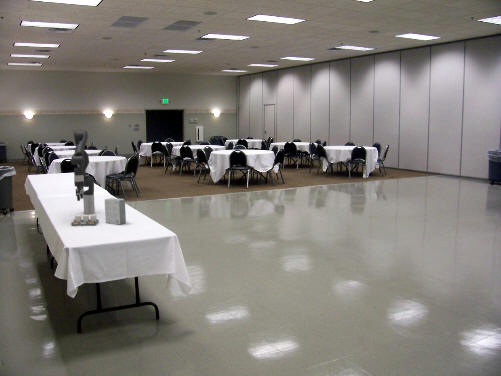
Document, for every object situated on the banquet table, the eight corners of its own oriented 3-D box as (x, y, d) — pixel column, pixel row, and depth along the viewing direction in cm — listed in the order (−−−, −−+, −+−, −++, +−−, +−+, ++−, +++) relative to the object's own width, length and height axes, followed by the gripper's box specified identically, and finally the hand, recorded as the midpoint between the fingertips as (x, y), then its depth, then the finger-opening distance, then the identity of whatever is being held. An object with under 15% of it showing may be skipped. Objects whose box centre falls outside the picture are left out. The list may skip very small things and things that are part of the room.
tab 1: (76, 220, 402) (76, 215, 401) (81, 220, 402) (81, 214, 401) (75, 221, 398) (75, 216, 397) (80, 221, 398) (80, 216, 398)
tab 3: (91, 220, 403) (91, 214, 402) (96, 220, 403) (96, 214, 403) (90, 221, 399) (90, 215, 398) (95, 221, 399) (95, 215, 399)
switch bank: (75, 222, 403) (75, 219, 403) (98, 222, 405) (98, 218, 404) (71, 226, 391) (71, 222, 390) (95, 225, 393) (95, 222, 392)
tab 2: (84, 220, 402) (83, 214, 402) (89, 220, 403) (88, 214, 402) (83, 221, 398) (82, 215, 398) (88, 221, 399) (87, 215, 398)
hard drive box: (126, 222, 402) (125, 199, 399) (120, 224, 396) (119, 200, 392) (111, 221, 409) (110, 197, 406) (105, 223, 402) (104, 199, 399)
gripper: (77, 179, 408) (78, 198, 411) (71, 181, 394) (73, 201, 397) (86, 179, 409) (87, 198, 411) (81, 181, 395) (82, 201, 397)
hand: (80, 199), depth 404 cm, fingers open, 8 cm apart
